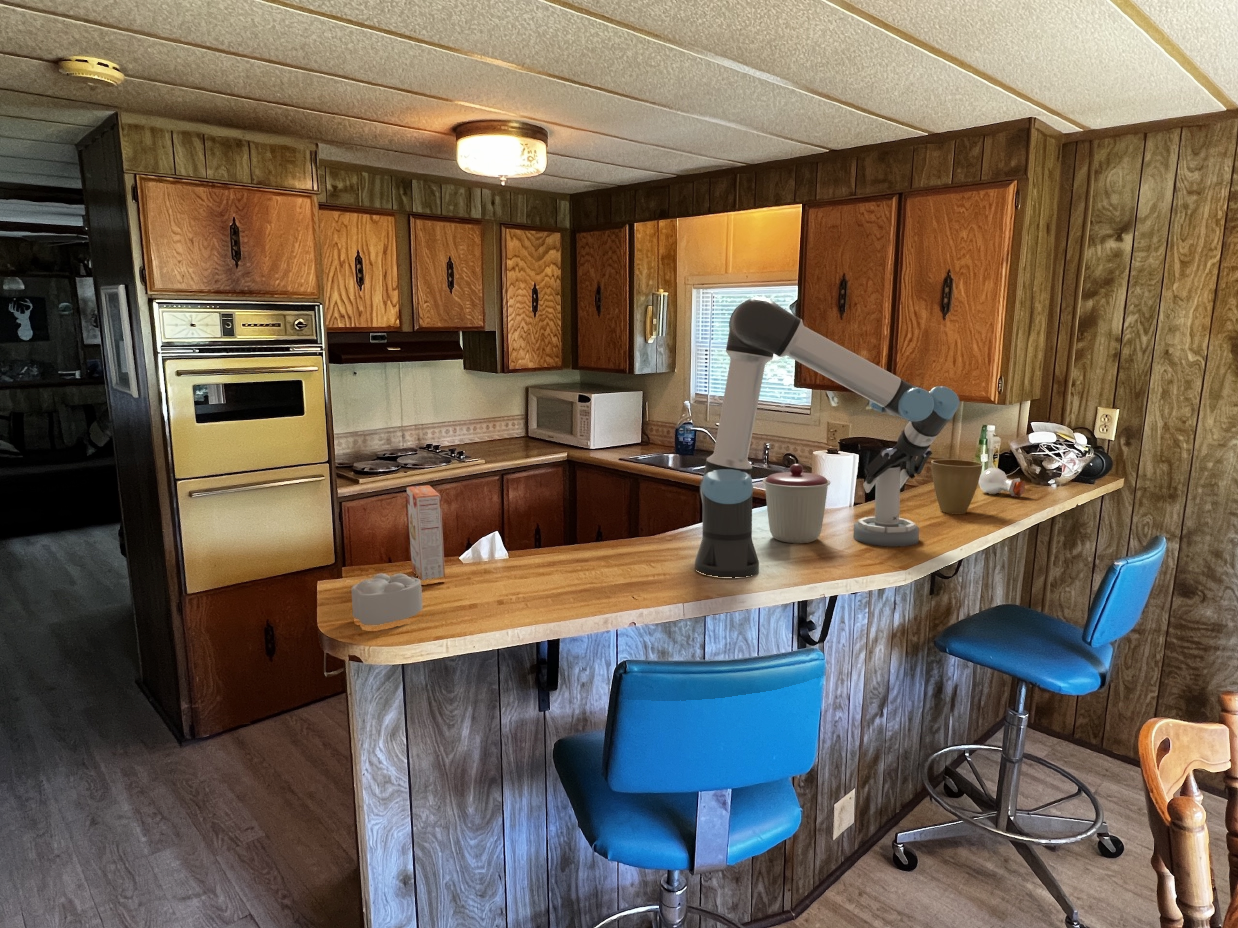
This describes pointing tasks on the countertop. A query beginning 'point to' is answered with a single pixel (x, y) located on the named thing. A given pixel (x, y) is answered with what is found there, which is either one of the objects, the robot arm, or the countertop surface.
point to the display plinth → (886, 533)
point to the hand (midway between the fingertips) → (880, 487)
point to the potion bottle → (1000, 482)
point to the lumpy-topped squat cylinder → (386, 599)
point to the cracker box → (425, 532)
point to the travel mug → (888, 498)
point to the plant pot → (955, 483)
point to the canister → (796, 504)
